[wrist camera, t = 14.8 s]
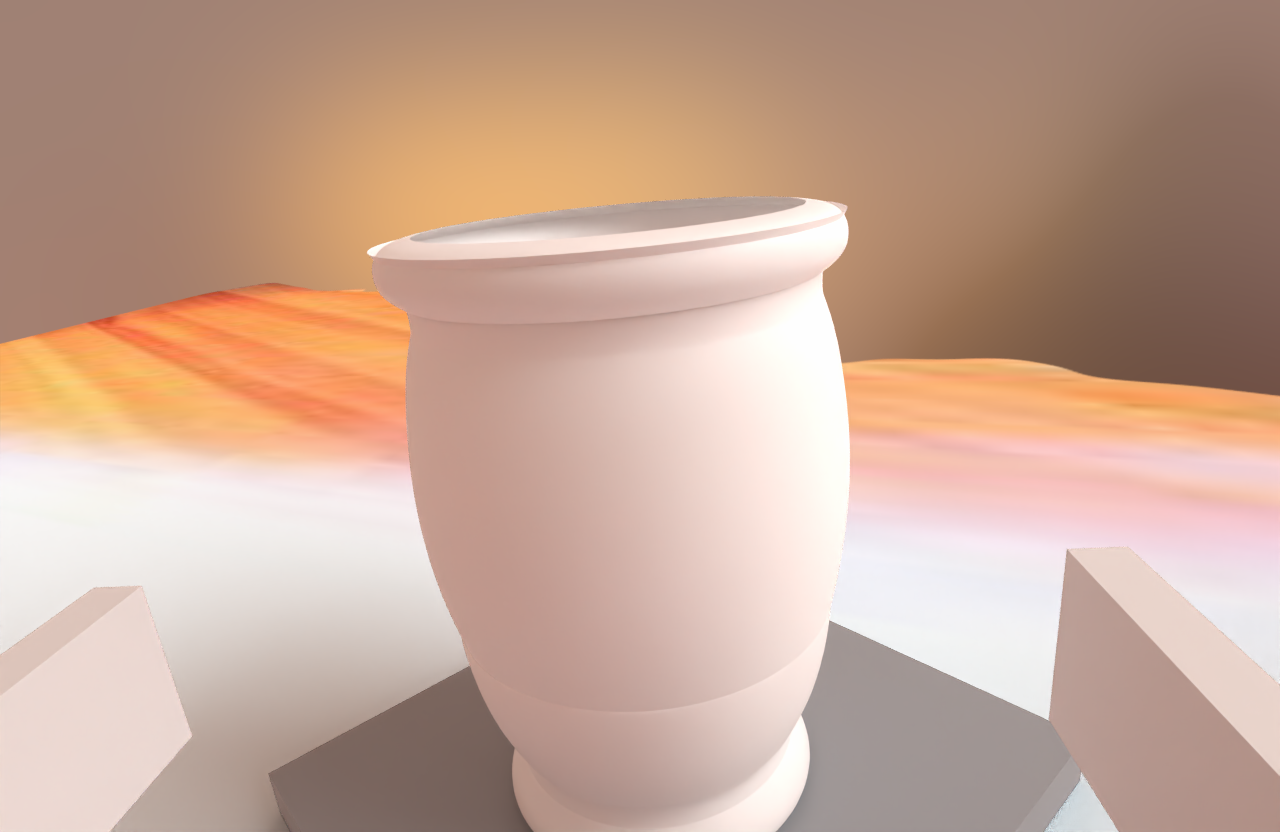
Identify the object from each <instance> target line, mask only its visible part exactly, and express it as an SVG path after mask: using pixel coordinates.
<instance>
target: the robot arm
mask: <svg viewBox="0 0 1280 832" xmlns="http://www.w3.org/2000/svg"><path fill="white" fill-rule="evenodd" d="M1049 720H1050V722H1051V724H1052V725H1053V727H1054V728H1055V730H1056V732H1057V733H1058V735H1059V736H1060V738H1061V740H1062V741H1063V743H1064V744H1065V746H1066V748H1067V749H1068V751H1069V752H1070V754H1071V756H1072V757H1073V759H1074V760H1075V762H1076V764H1077V765H1078V767H1079V769H1080V770H1081V772H1082V773H1083V775H1084V777H1085V778H1086V780H1087V781H1088V783H1089V785H1090V786H1091V788H1092V789H1093V791H1094V793H1095V794H1096V796H1097V797H1098V799H1099V801H1100V802H1101V804H1102V805H1103V807H1104V809H1105V810H1106V812H1107V813H1108V815H1109V817H1110V818H1111V820H1112V821H1113V823H1114V825H1115V826H1116V828H1117V829H1118V831H1119V832H1280V685H1279V684H1278V683H1277V682H1276V681H1275V680H1274V679H1273V678H1272V677H1271V676H1269V675H1268V674H1267V673H1266V672H1265V671H1264V670H1263V669H1262V668H1261V667H1260V666H1258V665H1257V664H1256V663H1255V662H1254V661H1253V660H1252V659H1251V658H1250V657H1249V656H1247V655H1246V654H1245V653H1244V652H1243V651H1242V650H1241V649H1240V648H1239V647H1238V646H1237V645H1235V644H1234V643H1233V642H1232V641H1231V640H1230V639H1229V638H1228V637H1227V636H1226V635H1224V634H1223V633H1222V632H1221V631H1220V630H1219V629H1218V628H1217V627H1216V626H1215V625H1213V624H1212V623H1211V622H1210V621H1209V620H1208V619H1207V618H1206V617H1205V616H1204V615H1202V614H1201V613H1200V612H1199V611H1198V610H1197V609H1196V608H1195V607H1194V606H1193V605H1191V604H1190V603H1189V602H1188V601H1187V600H1186V599H1185V598H1184V597H1183V596H1182V595H1180V594H1179V593H1178V592H1177V591H1176V590H1175V589H1174V588H1173V587H1172V586H1171V585H1169V584H1168V583H1167V582H1166V581H1165V580H1164V579H1163V578H1162V577H1161V576H1160V575H1158V574H1157V573H1156V572H1155V571H1154V570H1153V569H1152V568H1151V567H1150V566H1149V565H1147V564H1146V563H1145V562H1144V561H1143V560H1142V559H1141V558H1140V557H1139V556H1138V555H1136V554H1135V553H1134V552H1133V551H1132V550H1131V549H1130V548H1129V547H1109V548H1084V549H1067V553H1066V563H1065V572H1064V581H1063V591H1062V600H1061V610H1060V619H1059V628H1058V638H1057V647H1056V656H1055V666H1054V675H1053V685H1052V694H1051V703H1050V713H1049ZM191 737H192V733H191V730H190V727H189V725H188V722H187V719H186V716H185V713H184V710H183V707H182V704H181V701H180V698H179V695H178V692H177V689H176V686H175V683H174V680H173V677H172V674H171V671H170V668H169V665H168V662H167V659H166V656H165V654H164V651H163V648H162V645H161V642H160V639H159V636H158V633H157V630H156V627H155V624H154V621H153V618H152V615H151V612H150V609H149V606H148V603H147V600H146V597H145V594H144V591H143V588H142V586H126V587H100V588H93V589H91V590H90V591H89V592H87V593H86V594H84V595H83V596H82V597H80V598H79V599H78V600H76V601H75V602H73V603H72V604H71V605H69V606H68V607H66V608H65V609H64V610H62V611H61V612H59V613H58V614H57V615H55V616H54V617H53V618H51V619H50V620H48V621H47V622H46V623H44V624H43V625H41V626H40V627H39V628H37V629H36V630H34V631H33V632H32V633H30V634H29V635H28V636H26V637H25V638H23V639H22V640H21V641H19V642H18V643H16V644H15V645H14V646H12V647H11V648H9V649H8V650H7V651H5V652H4V653H3V654H1V655H0V832H110V831H111V830H112V828H113V827H114V826H115V825H116V824H117V823H118V822H119V820H120V819H121V818H122V817H123V816H124V815H125V813H126V812H127V811H128V810H129V809H130V808H131V807H132V805H133V804H134V803H135V802H136V801H137V800H138V798H139V797H140V796H141V795H142V794H143V793H144V791H145V790H146V789H147V788H148V787H149V786H150V785H151V783H152V782H153V781H154V780H155V779H156V778H157V776H158V775H159V774H160V773H161V772H162V771H163V770H164V768H165V767H166V766H167V765H168V764H169V763H170V761H171V760H172V759H173V758H174V757H175V756H176V755H177V753H178V752H179V751H180V750H181V749H182V748H183V746H184V745H185V744H186V743H187V742H188V741H189V739H190V738H191Z"/></svg>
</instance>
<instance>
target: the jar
mask: <svg viewBox="0 0 1280 832" xmlns="http://www.w3.org/2000/svg"><path fill="white" fill-rule="evenodd" d="M846 210H847V206H846V205H844V204H841V203H836V202H828V201H820V200H814V199H806V198H795V197H722V198H700V199H683V200H668V201H654V202H641V203H630V204H618V205H608V206H597V207H587V208H577V209H568V210H559V211H550V212H542V213H533V214H525V215H519V216H518V215H517V216H511V217H503V218H496V219H489V220H482V221H476V222H470V223H464V224H458V225H453V226H448V227H443V228H438V229H434V230H429V231H425V232H421V233H417V234H413V235H410V236H407V237H404V238H401V239H398V240H395V241H391V242H387V243H384V244H381V245H378V246H375V247H373V248H371V249H369V250H368V252H367V253H368V254H369V255H370V256H371V257H372V259H373V260H374V261H373V266H372V274H373V279H374V283H375V286H376V288H377V290H378V291H379V293H380V294H381V295H382V296H383V297H384V298H385V299H386V300H387V301H388V302H390V303H391V304H393V305H394V306H396V307H398V308H400V309H402V310H404V311H406V312H407V315H408V319H409V323H410V330H411V336H410V342H409V349H408V357H407V368H406V423H407V439H408V451H409V461H410V469H411V477H412V484H413V491H414V497H415V502H416V507H417V512H418V517H419V522H420V526H421V530H422V534H423V538H424V542H425V546H426V549H427V553H428V556H429V559H430V563H431V566H432V569H433V572H434V575H435V578H436V580H437V583H438V586H439V588H440V591H441V594H442V596H443V599H444V601H445V603H446V606H447V608H448V610H449V612H450V615H451V617H452V619H453V621H454V623H455V625H456V627H457V629H458V631H459V633H460V635H461V637H462V642H463V646H464V649H465V653H466V656H467V659H468V662H469V665H470V668H471V670H472V673H473V676H474V678H475V681H476V683H477V685H478V688H479V690H480V692H481V694H482V697H483V699H484V701H485V703H486V705H487V707H488V709H489V711H490V712H491V714H492V716H493V718H494V719H495V721H496V723H497V724H498V726H499V727H500V729H501V730H502V732H503V733H504V735H505V736H506V737H507V739H508V740H509V741H510V743H511V744H512V745H513V746H514V748H515V749H514V755H513V763H512V780H513V788H514V793H515V797H516V800H517V803H518V806H519V808H520V811H521V813H522V815H523V817H524V819H525V820H526V822H527V823H528V825H529V826H530V828H531V829H532V830H533V832H776V831H777V830H778V829H779V828H780V827H781V826H782V824H783V823H784V822H785V821H786V819H787V818H788V817H789V816H790V814H791V813H792V811H793V810H794V808H795V806H796V804H797V803H798V801H799V799H800V796H801V794H802V792H803V789H804V787H805V784H806V780H807V776H808V771H809V762H810V748H809V740H808V734H807V730H806V727H805V724H804V721H803V718H802V716H801V714H802V712H803V710H804V708H805V706H806V704H807V702H808V699H809V697H810V695H811V692H812V690H813V687H814V684H815V681H816V679H817V675H818V672H819V669H820V665H821V661H822V657H823V653H824V648H825V643H826V638H827V632H828V626H829V619H830V610H831V603H832V599H833V595H834V591H835V586H836V582H837V577H838V572H839V567H840V561H841V556H842V550H843V543H844V536H845V529H846V520H847V511H848V499H849V480H850V445H849V425H848V412H847V402H846V393H845V385H844V378H843V371H842V364H841V358H840V353H839V348H838V343H837V338H836V334H835V330H834V326H833V323H832V319H831V315H830V313H829V309H828V306H827V303H826V300H825V298H824V295H823V290H822V275H823V271H824V270H825V269H826V268H828V267H829V266H830V265H832V264H833V263H834V262H835V261H836V260H837V259H838V258H839V257H840V255H841V254H842V252H843V251H844V249H845V247H846V244H847V240H848V224H847V220H846V218H845V216H844V213H845V212H846Z"/></svg>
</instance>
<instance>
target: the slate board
mask: <svg viewBox="0 0 1280 832" xmlns="http://www.w3.org/2000/svg"><path fill="white" fill-rule="evenodd" d="M801 716H802V718H803V721H804V724H805V727H806V730H807V734H808V740H809V748H810V762H809V771H808V776H807V780H806V784H805V787H804V789H803V792H802V794H801V796H800V799H799V801H798V803H797V804H796V806H795V808H794V810H793V811H792V813H791V814H790V816H789V817H788V818H787V819H786V821H785V822H784V823H783V824H782V826H781V827H780V828H779V829H778V830H777V831H776V832H1044V831H1045V829H1046V828H1047V826H1048V825H1049V823H1050V822H1051V821H1052V819H1053V818H1054V816H1055V815H1056V813H1057V812H1058V811H1059V809H1060V808H1061V806H1062V805H1063V803H1064V802H1065V801H1066V799H1067V798H1068V796H1069V795H1070V794H1071V792H1072V791H1073V789H1074V788H1075V786H1076V785H1077V784H1078V782H1079V781H1080V775H1081V770H1080V769H1079V767H1078V765H1077V764H1076V762H1075V760H1074V759H1073V757H1072V756H1071V754H1070V752H1069V751H1068V749H1067V748H1066V746H1065V744H1064V743H1063V741H1062V740H1061V738H1060V736H1059V735H1058V733H1057V732H1056V730H1055V728H1054V727H1053V725H1052V724H1051V722H1050V721H1048V720H1046V719H1044V718H1042V717H1040V716H1038V715H1035V714H1033V713H1031V712H1029V711H1027V710H1024V709H1022V708H1020V707H1018V706H1016V705H1013V704H1011V703H1009V702H1007V701H1005V700H1002V699H1000V698H998V697H996V696H994V695H992V694H989V693H987V692H985V691H983V690H981V689H978V688H976V687H974V686H972V685H970V684H967V683H965V682H963V681H961V680H959V679H956V678H954V677H952V676H950V675H948V674H946V673H943V672H941V671H939V670H937V669H935V668H932V667H930V666H928V665H926V664H924V663H921V662H919V661H917V660H915V659H913V658H910V657H908V656H906V655H904V654H902V653H900V652H897V651H895V650H893V649H891V648H889V647H886V646H884V645H882V644H880V643H878V642H875V641H873V640H871V639H869V638H867V637H864V636H862V635H860V634H858V633H856V632H854V631H851V630H849V629H847V628H845V627H843V626H840V625H838V624H836V623H834V622H832V621H829V626H828V632H827V638H826V643H825V648H824V653H823V657H822V661H821V665H820V669H819V672H818V675H817V679H816V681H815V684H814V687H813V690H812V692H811V695H810V697H809V699H808V702H807V704H806V706H805V708H804V710H803V712H802V714H801ZM514 749H515V748H514V746H513V745H512V744H511V743H510V741H509V740H508V739H507V737H506V736H505V735H504V733H503V732H502V730H501V729H500V727H499V726H498V724H497V723H496V721H495V719H494V718H493V716H492V714H491V712H490V711H489V709H488V707H487V705H486V703H485V701H484V699H483V697H482V694H481V692H480V690H479V688H478V685H477V683H476V681H475V678H474V676H473V673H472V670H471V668H470V666H469V667H467V668H465V669H463V670H461V671H459V672H458V673H456V674H454V675H452V676H450V677H448V678H446V679H445V680H443V681H441V682H439V683H437V684H435V685H433V686H431V687H430V688H428V689H426V690H424V691H422V692H420V693H418V694H416V695H415V696H413V697H411V698H409V699H407V700H405V701H403V702H402V703H400V704H398V705H396V706H394V707H392V708H390V709H388V710H387V711H385V712H383V713H381V714H379V715H377V716H375V717H374V718H372V719H370V720H368V721H366V722H364V723H362V724H360V725H359V726H357V727H355V728H353V729H351V730H349V731H347V732H346V733H344V734H342V735H340V736H338V737H336V738H334V739H332V740H331V741H329V742H327V743H325V744H323V745H321V746H319V747H318V748H316V749H314V750H312V751H310V752H308V753H306V754H304V755H303V756H301V757H299V758H297V759H295V760H293V761H291V762H290V763H288V764H286V765H284V766H282V767H280V768H278V769H276V770H275V771H273V772H271V773H269V777H270V780H271V784H272V787H273V790H274V793H275V797H276V800H277V803H278V807H279V810H280V813H281V815H282V817H283V819H284V820H285V822H286V824H287V826H288V828H289V829H290V831H291V832H533V830H532V829H531V828H530V826H529V825H528V823H527V822H526V820H525V819H524V817H523V815H522V813H521V811H520V808H519V806H518V803H517V800H516V797H515V793H514V788H513V780H512V763H513V755H514Z"/></svg>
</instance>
